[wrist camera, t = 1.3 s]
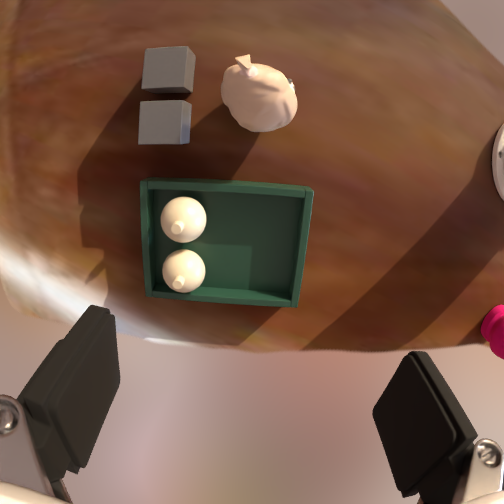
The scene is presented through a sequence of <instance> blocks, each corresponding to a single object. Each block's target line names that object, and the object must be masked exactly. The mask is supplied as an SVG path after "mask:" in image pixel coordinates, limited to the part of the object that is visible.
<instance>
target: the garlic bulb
mask: <svg viewBox="0 0 504 504" xmlns="http://www.w3.org/2000/svg"><path fill="white" fill-rule="evenodd" d="M236 61H237V63H238V65H234V66H231V67H229V68H228V69H227V70H226V71H225V73H224V77H223V82H222V84H221V96H222V100H223V102H224V104H225V105H226V106H228V107H229V110H230V113H231V115H232V116H233V117H234V118H235V119H236V120H237V122H238V123H239V125H240V126H242V127H244V128H246V129H248V130H250V131H252V132H267V131H272V130H275V129H277V128H281V127H284V126H286V125H287V124H288V123H290V122H291V120H292V119H293V117H294V115H295V113H296V110H297V98H296V95H295V87H294V85H293V83H292V80H291V79H286V78H285V76H284V75H283V74H282V73H281V72H280V71H278V70H275V69H273V68H271V67H269V66H265V65H261V64H251V62H250V55H245V56H241V57H236Z"/></svg>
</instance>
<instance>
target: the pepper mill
mask: <svg viewBox="0 0 504 504" xmlns="http://www.w3.org/2000/svg"><path fill="white" fill-rule="evenodd" d="M481 334H482V336H483V337H484V338H485V339H486V340H487V341H488V342H490V348H491V350H492V352H493V353H494V354H495V355H497V356H498V357H500V358H502V359H504V305H498V306H496V307H494V308H493V309H492V310H491V311H490V312H489V313H488V314H487V315H486V317H485V318H484V320H483V322H482V325H481Z"/></svg>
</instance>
